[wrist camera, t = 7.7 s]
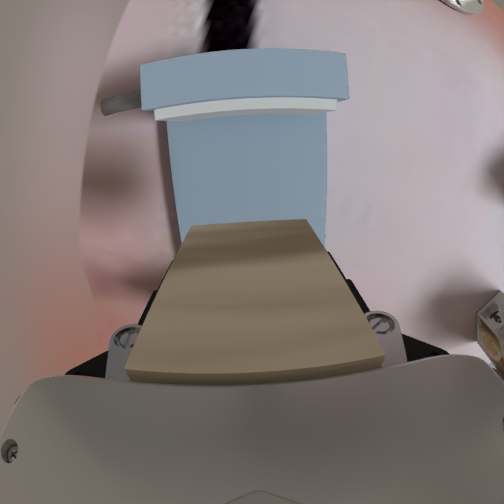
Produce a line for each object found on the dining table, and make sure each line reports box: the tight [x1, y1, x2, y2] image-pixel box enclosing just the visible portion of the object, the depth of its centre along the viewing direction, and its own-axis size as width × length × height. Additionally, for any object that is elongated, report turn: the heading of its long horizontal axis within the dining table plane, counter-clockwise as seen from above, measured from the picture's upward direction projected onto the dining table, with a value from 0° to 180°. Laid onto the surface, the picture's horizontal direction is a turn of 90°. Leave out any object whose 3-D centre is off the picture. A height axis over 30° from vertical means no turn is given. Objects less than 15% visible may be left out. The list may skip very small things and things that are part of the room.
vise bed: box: [167, 112, 327, 246], centre depth 18 cm, size 21×14×10 cm
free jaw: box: [101, 48, 349, 122], centre depth 14 cm, size 3×14×7 cm, turn 93°
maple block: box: [124, 219, 386, 385], centre depth 9 cm, size 5×5×8 cm
